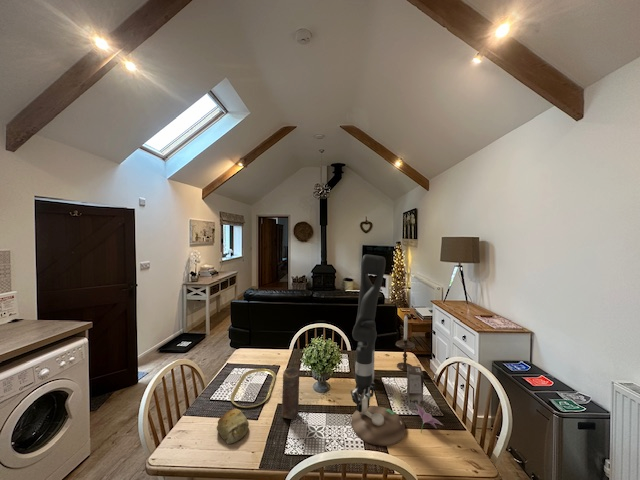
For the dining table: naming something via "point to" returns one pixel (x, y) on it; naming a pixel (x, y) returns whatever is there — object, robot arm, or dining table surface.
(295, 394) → the candle
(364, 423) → the brown flat rounded piece
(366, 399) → the tuning crank
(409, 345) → the candlestick
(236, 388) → the brass oval ring
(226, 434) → the pastry
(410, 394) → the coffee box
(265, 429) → the dining table surface
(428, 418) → the lily
